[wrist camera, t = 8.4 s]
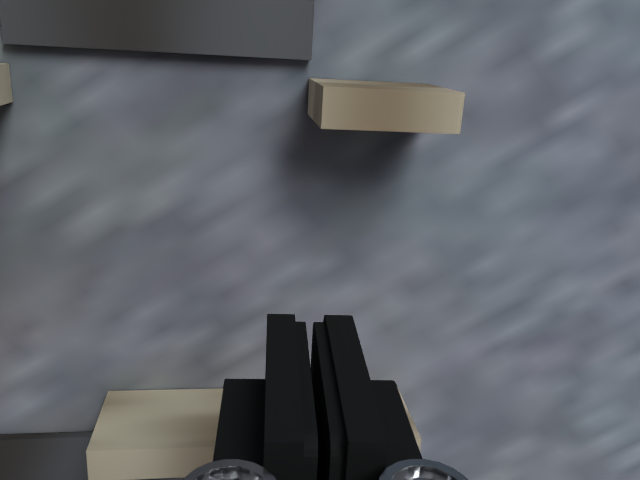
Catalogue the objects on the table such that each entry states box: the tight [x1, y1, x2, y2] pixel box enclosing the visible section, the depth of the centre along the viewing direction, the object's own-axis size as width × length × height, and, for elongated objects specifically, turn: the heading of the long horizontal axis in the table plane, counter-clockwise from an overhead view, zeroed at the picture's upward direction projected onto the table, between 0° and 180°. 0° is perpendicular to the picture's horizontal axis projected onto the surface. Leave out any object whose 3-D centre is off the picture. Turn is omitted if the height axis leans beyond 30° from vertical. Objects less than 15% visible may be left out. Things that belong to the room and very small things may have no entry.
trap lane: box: [0, 0, 465, 480], centre depth 16 cm, size 21×22×3 cm
